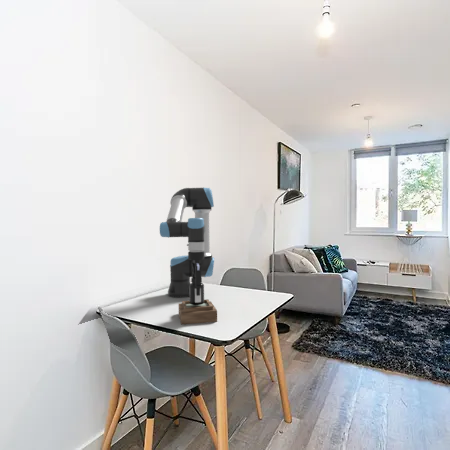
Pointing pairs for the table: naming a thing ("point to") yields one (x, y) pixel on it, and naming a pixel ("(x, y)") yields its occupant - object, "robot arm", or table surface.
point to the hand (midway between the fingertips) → (196, 299)
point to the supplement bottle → (192, 292)
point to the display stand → (197, 312)
